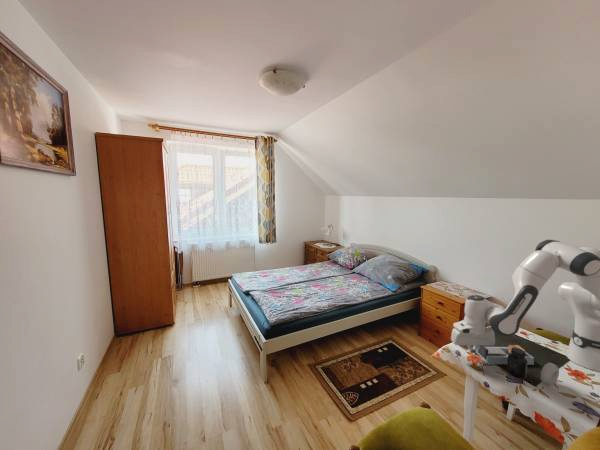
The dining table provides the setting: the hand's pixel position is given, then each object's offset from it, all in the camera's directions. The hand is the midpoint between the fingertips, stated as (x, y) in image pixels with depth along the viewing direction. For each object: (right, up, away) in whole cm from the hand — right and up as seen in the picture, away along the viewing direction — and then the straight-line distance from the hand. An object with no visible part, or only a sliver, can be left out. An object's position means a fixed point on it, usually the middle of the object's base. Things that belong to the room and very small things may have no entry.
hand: (472, 352), depth 122 cm
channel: (+16, -3, 0) cm, 17 cm away
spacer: (+22, -2, -1) cm, 23 cm away
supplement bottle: (+13, -5, -11) cm, 18 cm away
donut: (+21, -5, -17) cm, 28 cm away
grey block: (+10, -2, 0) cm, 11 cm away
